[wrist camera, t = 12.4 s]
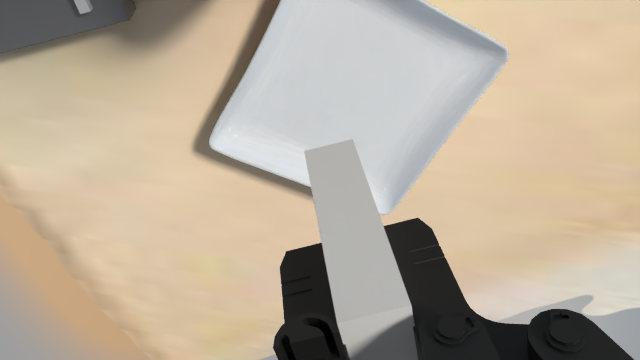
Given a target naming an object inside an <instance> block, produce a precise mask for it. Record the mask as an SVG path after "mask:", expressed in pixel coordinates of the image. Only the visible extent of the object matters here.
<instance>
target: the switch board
mask: <svg viewBox="0 0 640 360" xmlns="http://www.w3.org/2000/svg"><path fill="white" fill-rule="evenodd" d="M135 10H136V8H135V5H134V3H133V0H0V53H3V52H6V51H10V50H14V49H18V48H22V47H26V46H30V45H34V44H38V43H42V42H45V41H49V40H53V39H57V38H61V37H65V36H69V35H73V34H77V33H81V32H84V31H88V30H92V29H96V28H100V27H104V26H108V25H112V24H116V23H119V22H123V21H127V20H130V18H131V17H132V15H133V13H134V11H135Z"/></svg>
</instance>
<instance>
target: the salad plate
mask: <svg viewBox="0 0 640 360" xmlns="http://www.w3.org/2000/svg"><path fill="white" fill-rule="evenodd" d="M508 57H509V51H508V49H507V47H506V46H505V45H503V44H502V43H501V42H499V41H498V40H496V39H494V38H492V37H491V36H489V35H487V34H486V33H484V32H482V31H480V30H478V29H476V28H474V27H472V26H470V25H468V24H466V23H464V22H463V21H461V20H459V19H457V18H455V17H453V16H451V15H449V14H447V13H446V12H444V11H442V10H440V9H439V8H437V7H435V6H433V5H432V4H430V3H428V2H426V1H425V0H280V2H279V4H278V6H277V8H276V10H275V12H274V15H273V17H272V19H271V21H270V23H269V25H268V27H267V29H266V31H265V33H264V35H263V37H262V40H261V42H260V44H259V46H258V48H257V50H256V51H255V53H254V55H253V57H252V59H251V61H250V63H249V65H248V67H247V69H246V71H245V73H244V74H243V76H242V78H241V80H240V82H239V83H238V85H237V87H236V89H235V90H234V92H233V94H232V95H231V97H230V99H229V101H228V102H227V104H226V106H225V107H224V109H223V111H222V112H221V114H220V116H219V118H218V120H217V122H216V124H215V126H214V128H213V130H212V132H211V134H210V137H209V146H210V147H211V148H212V149H213V150H215V151H217V152H219V153H221V154H223V155H225V156H228V157H230V158H232V159H235V160H237V161H240V162H243V163H245V164H248V165H251V166H253V167H256V168H259V169H262V170H264V171H267V172H270V173H272V174H275V175H278V176H281V177H283V178H286V179H289V180H292V181H294V182H297V183H300V184H302V185H305V186H308V187H310V188H311V184H310V179H309V174H308V169H307V164H306V158H305V153H304V151H306V150H310V149H314V148H318V147H322V146H326V145H330V144H334V143H338V142H342V141H346V140H350V139H353V141H354V144H355V147H356V150H357V153H358V155H359V158H360V161H361V164H362V167H363V170H364V172H365V175H366V178H367V181H368V184H369V187H370V189H371V192H372V195H373V198H374V201H375V204H376V206H377V209H378V212H379V214H381V215H386V214H389V213H391V212H392V211H393V210H394V209H395V208H396V206H397V205H398V204H399V203H400V202H401V200H402V199H403V198H404V196H405V195H406V194H407V192H408V191H409V190H410V188H411V187H412V186H413V184H414V183H415V182H416V180H417V179H418V178H419V176H420V175H421V174H422V172H423V171H424V170H425V168H426V167H427V166H428V164H429V163H430V162H431V160H432V159H433V158H434V156H435V155H436V154H437V152H438V151H439V150H440V148H441V147H442V146H443V144H444V143H445V142H446V140H447V139H448V138H449V136H450V135H451V134H452V132H453V131H454V130H455V129H456V127H457V126H458V125H459V123H460V122H461V121H462V120H463V118H464V117H465V116H466V115H467V113H468V112H469V111H470V109H471V108H472V107H473V106H474V104H475V103H476V102H477V101H478V99H479V98H480V97H481V96H482V94H483V93H484V92H485V91H486V89H487V88H488V87H489V86H490V84H491V83H492V82H493V80H494V79H495V78H496V76H497V75H498V74H499V72H500V71H501V70H502V68H503V66H504V65H505V63H506V61H507V59H508Z"/></svg>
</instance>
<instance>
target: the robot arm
mask: <svg viewBox="0 0 640 360" xmlns="http://www.w3.org/2000/svg"><path fill="white" fill-rule="evenodd" d="M304 153H305V158H306V164H307V169H308V174H309V179H310V184H311V190H312V195H313V200H314V205H315V211H316V216H317V221H318V226H319V232H320V237H321V242H322V243H319V244H315V245H311V246H307V247H302V248H298V249H294V250H290V251H286V254H285V256H284V259H283V261H282V263H281V266H280V274H281V284H282V296H283V309H284V320H285V324H283V325H282V326H281V328H280V329H279V331H278V332H277V334H276V336H275V339H274V346H273V348H274V351H275V353H276V355H277V358H278V360H634V359H633V358H631V357H630V356H629V355H628V354H627V353H626V352H625V351H624V350H623V349H622V348H620V346H619V345H617V344H616V343H615V342H614V341H613V340H612V339H611V338H610V337H609V336H607V334H605V333H604V332H603V331H602V330H601V329H600V328H599V327H598V326H597V325H596V324H595V323H593V322H592V321H590V320H589V319H587V318H586V317H585V316H583V315H582V314H580V313H576V312H573V311H570V310H567V309H551V310H547V311H544V312H540V313H539V314H538V315H537V316H535V317H534V318H533V319H532V320H531V322H530V324H529V325H526V324H525V325H524V324H505V323H498V322H493V321H491V320H488V319H485V318H483V317H481V316H480V315H478V314H476V313H475V312H474V311H473V310H472V309H471V308H470V307H469V305H468V304H467V302H466V300H465V298H464V296H463V294H462V292H461V290H460V288H459V286H458V283H457V281H456V279H455V277H454V275H453V273H452V271H451V269H450V266H449V264H448V262H447V260H446V258H445V257H444V254H443V252H442V249H441V247H440V246H439V243H438V241H437V239H436V237H435V235H434V232H433V230H432V228H430V227H429V226H428V225H426V224H425V223H424V222H423V221H421V220H420V219H419V218H415V219H411V220H407V221H403V222H399V223H395V224H391V225H387V226H383V223H382V221H381V218H380V215H379V212H378V209H377V206H376V204H375V201H374V198H373V195H372V192H371V189H370V187H369V184H368V181H367V178H366V175H365V172H364V170H363V167H362V164H361V161H360V158H359V155H358V153H357V150H356V147H355V144H354V141H353V139H350V140H346V141H342V142H338V143H334V144H330V145H326V146H322V147H318V148H314V149H310V150H306V151H304Z"/></svg>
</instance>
